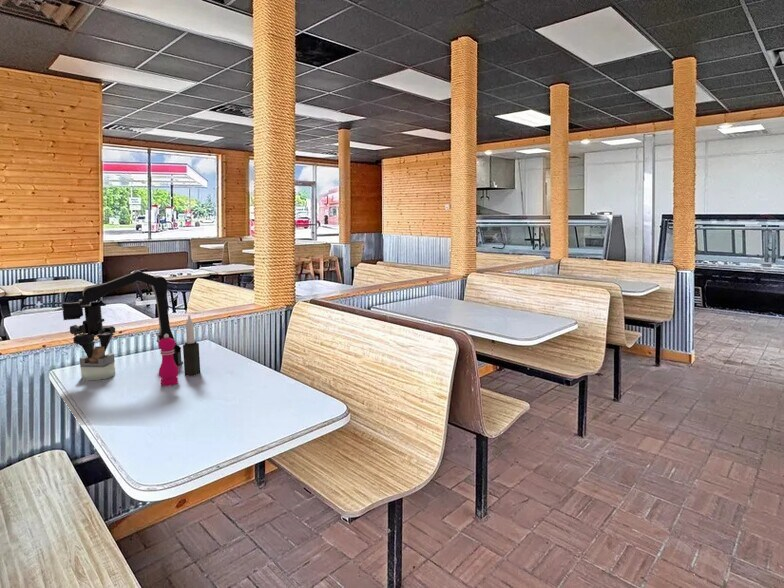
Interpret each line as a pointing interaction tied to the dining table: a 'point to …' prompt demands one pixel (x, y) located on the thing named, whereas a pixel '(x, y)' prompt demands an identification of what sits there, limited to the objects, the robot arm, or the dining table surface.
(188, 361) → the candle
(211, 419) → the dining table surface
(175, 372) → the pepper mill
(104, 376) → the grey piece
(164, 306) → the robot arm
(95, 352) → the brown block
